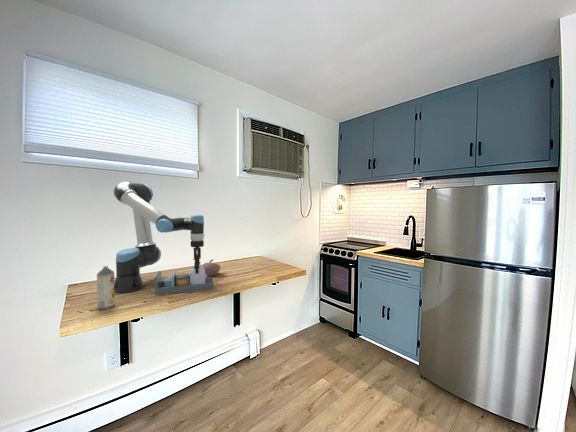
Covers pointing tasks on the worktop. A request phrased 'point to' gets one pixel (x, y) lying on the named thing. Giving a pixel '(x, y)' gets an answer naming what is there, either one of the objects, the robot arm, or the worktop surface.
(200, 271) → the soap bottle
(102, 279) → the aerosol can
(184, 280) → the amber jar
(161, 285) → the grey slotted block
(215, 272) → the pink pumpkin
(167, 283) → the pusher
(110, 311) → the worktop surface
